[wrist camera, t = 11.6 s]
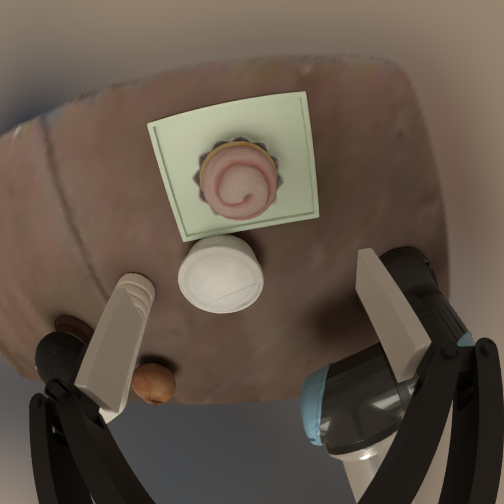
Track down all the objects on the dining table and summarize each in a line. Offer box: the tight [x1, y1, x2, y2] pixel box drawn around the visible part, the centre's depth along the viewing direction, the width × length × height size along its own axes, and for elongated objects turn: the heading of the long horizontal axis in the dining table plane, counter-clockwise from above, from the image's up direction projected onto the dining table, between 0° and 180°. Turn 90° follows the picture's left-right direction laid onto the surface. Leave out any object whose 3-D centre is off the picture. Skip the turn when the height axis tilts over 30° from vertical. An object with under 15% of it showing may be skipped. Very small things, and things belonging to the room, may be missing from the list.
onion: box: [132, 362, 176, 405], centre depth 49 cm, size 10×9×10 cm
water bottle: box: [99, 273, 155, 424], centre depth 30 cm, size 9×6×25 cm
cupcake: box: [192, 135, 285, 221], centre depth 27 cm, size 9×9×10 cm
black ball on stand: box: [35, 315, 95, 385], centre depth 41 cm, size 13×13×15 cm
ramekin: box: [178, 234, 264, 313], centre depth 37 cm, size 11×11×5 cm
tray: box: [147, 91, 319, 242], centre depth 31 cm, size 18×16×1 cm
